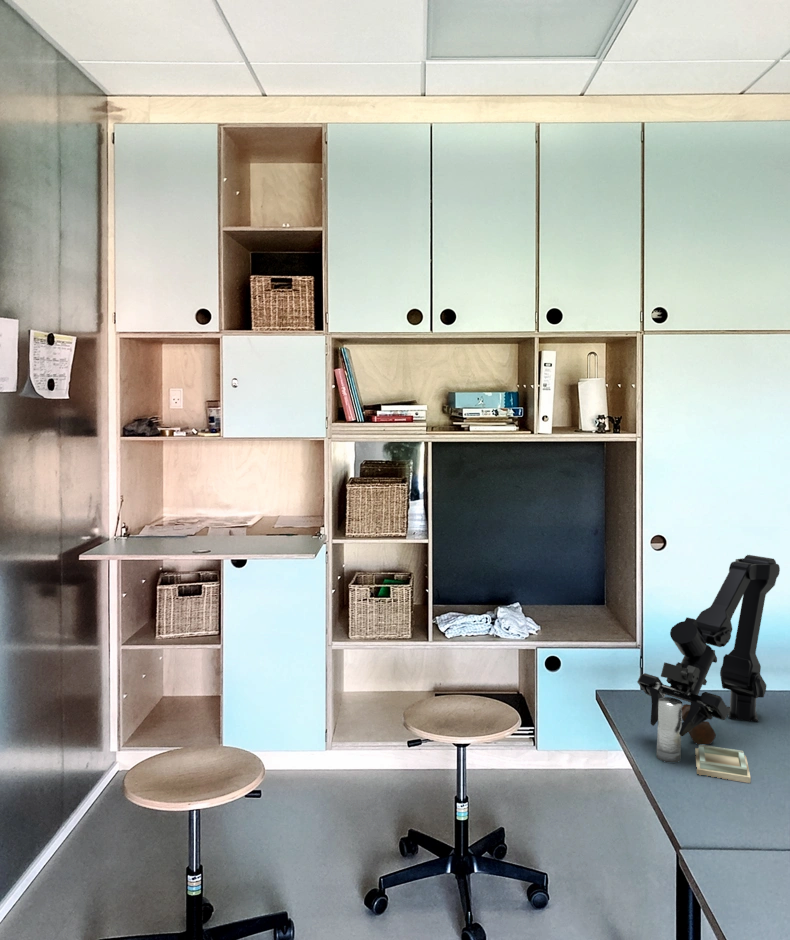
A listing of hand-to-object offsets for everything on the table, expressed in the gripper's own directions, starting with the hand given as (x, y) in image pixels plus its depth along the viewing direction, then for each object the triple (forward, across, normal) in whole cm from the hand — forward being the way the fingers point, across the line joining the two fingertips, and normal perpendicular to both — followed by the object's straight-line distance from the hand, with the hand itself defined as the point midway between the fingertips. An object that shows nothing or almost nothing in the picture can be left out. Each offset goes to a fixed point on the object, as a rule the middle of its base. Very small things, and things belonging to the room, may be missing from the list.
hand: (666, 729), depth 160 cm
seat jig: (+1, +10, +9) cm, 13 cm away
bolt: (-8, -3, +18) cm, 20 cm away
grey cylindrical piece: (+4, 0, +6) cm, 7 cm away
